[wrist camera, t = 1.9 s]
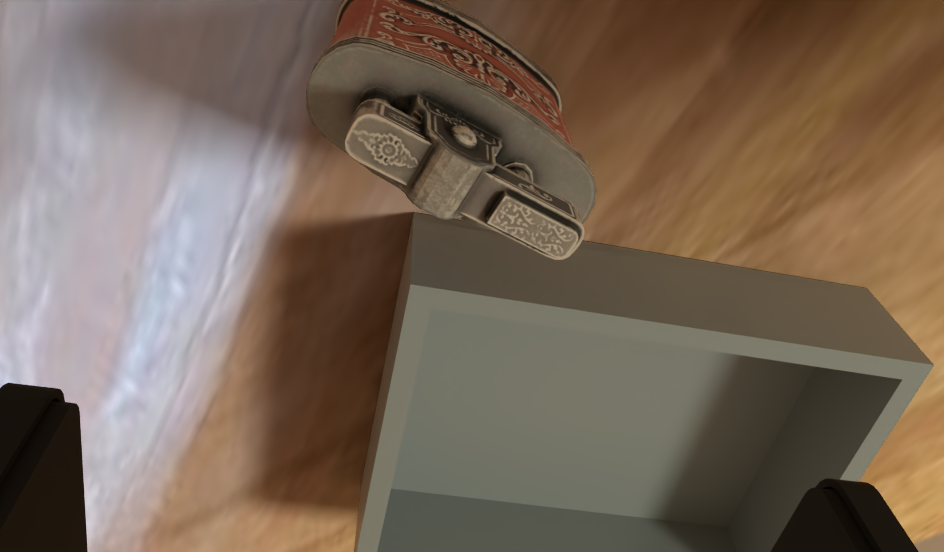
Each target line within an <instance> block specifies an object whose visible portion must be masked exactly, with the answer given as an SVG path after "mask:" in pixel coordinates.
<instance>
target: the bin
mask: <svg viewBox="0 0 944 552" xmlns="http://www.w3.org/2000/svg"><path fill="white" fill-rule="evenodd" d="M933 366H934V364H933V363H932V362H931V361H930V360H929V359H928V358H927V356H926V355H925V354H924V353H923V352H922V351H921V350H920V348H919V347H918V346H917V345H916V344H915V343H914V342H913V340H912V339H911V338H910V337H909V336H908V335H907V333H906V332H905V331H904V330H903V329H902V328H901V327H900V325H899V324H898V323H897V322H896V321H895V320H894V319H893V317H892V316H891V315H890V314H889V313H888V312H887V311H886V309H885V308H884V307H883V306H882V305H881V304H880V302H879V301H878V300H877V299H876V298H875V297H874V296H873V294H872V293H871V292H870V291H869V290H868V289H867V288H862V287H856V286H850V285H844V284H838V283H832V282H826V281H820V280H814V279H808V278H802V277H796V276H790V275H785V274H779V273H773V272H767V271H761V270H755V269H749V268H743V267H737V266H731V265H725V264H719V263H713V262H707V261H701V260H695V259H689V258H683V257H677V256H671V255H665V254H659V253H653V252H647V251H642V250H636V249H630V248H624V247H618V246H612V245H606V244H600V243H594V242H588V241H582V242H581V243H580V245H579V246H578V248H577V249H576V250H575V251H574V252H573V253H572V254H571V255H570V256H569V257H567V258H565V259H563V260H555V259H552V258H549V257H546V256H544V255H542V254H540V253H538V252H536V251H534V250H532V249H530V248H528V247H527V246H525V245H523V244H521V243H519V242H517V241H515V240H513V239H511V238H509V237H507V236H505V235H503V234H501V233H499V232H497V231H493V230H490V229H486V228H483V227H480V226H477V225H475V224H472V223H470V222H468V221H463V220H457V219H448V220H446V219H441V218H438V217H436V216H433V215H427V214H421V213H415V212H414V213H413V219H412V224H411V229H410V234H409V239H408V245H407V250H406V255H405V260H404V265H403V270H402V276H401V281H400V286H399V291H398V296H397V302H396V307H395V312H394V317H393V322H392V327H391V333H390V338H389V343H388V348H387V353H386V359H385V364H384V369H383V374H382V379H381V384H380V390H379V395H378V400H377V405H376V410H375V416H374V421H373V426H372V431H371V436H370V441H369V447H368V452H367V457H366V462H365V467H364V473H363V478H362V483H361V488H360V498H359V508H358V518H357V527H356V537H355V547H354V552H771V550H772V548H773V547H774V545H775V543H776V542H777V540H778V538H779V537H780V535H781V533H782V531H783V530H784V528H785V526H786V525H787V523H788V521H789V520H790V518H791V516H792V515H793V513H794V511H795V510H796V508H797V506H798V505H799V503H800V501H801V500H802V498H803V496H804V494H805V493H806V492H807V491H808V490H809V489H811V488H815V487H816V486H817V485H818V483H819V482H820V481H822V480H824V479H826V478H827V479H839V480H848V481H856V482H859V480H860V479H861V477H862V476H863V474H864V472H865V471H866V469H867V468H868V466H869V465H870V463H871V462H872V460H873V459H874V457H875V455H876V454H877V452H878V451H879V449H880V448H881V446H882V445H883V443H884V442H885V440H886V439H887V437H888V435H889V434H890V432H891V431H892V429H893V428H894V426H895V425H896V423H897V422H898V420H899V418H900V417H901V415H902V414H903V412H904V411H905V409H906V408H907V406H908V405H909V403H910V402H911V400H912V398H913V397H914V395H915V394H916V392H917V391H918V389H919V388H920V386H921V385H922V383H923V382H924V380H925V378H926V377H927V375H928V374H929V372H930V371H931V369H932V368H933Z"/></svg>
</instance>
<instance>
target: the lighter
mask: <svg viewBox="0 0 944 552" xmlns="http://www.w3.org/2000/svg"><path fill="white" fill-rule="evenodd" d="M306 100H307V110H308V113H309V115H310V118H311V120H312V123H313V125H314V126H315V127H316V128H317V129H318V130H319V131H320V133H321V134H322V135H323V136H324V137H326V138H327V139H328V140H330V141H331V142H332V143H334V144H335V145H336V146H338V147H339V148H340V149H342V150H343V151H344V152H346V153H347V154H348V155H350V156H351V157H352V158H354V159H355V160H356V161H358V162H359V163H360V164H362V165H363V166H364V167H366V168H367V169H368V170H370V171H371V172H372V173H374V174H376V175H377V176H379V177H381V178H383V179H384V180H386V181H388V182H389V183H391V184H393V185H394V186H396V187H398V188H400V189H401V190H402V191H403V192H404V193H405V194H406V196H407V197H408V199H409V200H410V201H411V202H412V203H413V204H415V205H416V206H417V207H419V208H420V209H422V210H424V211H426V212H428V213H430V214H432V215H434V216H436V217H438V218H441V219H446V220H448V219H452V218H461V219H463V220H465V221H468V222H470V223H472V224H475V225H477V226H480V227H483V228H486V229H490V230H493V231H497V232H499V233H501V234H503V235H505V236H507V237H509V238H511V239H513V240H515V241H517V242H519V243H521V244H523V245H525V246H527V247H528V248H530V249H532V250H534V251H536V252H538V253H540V254H542V255H544V256H546V257H549V258H552V259H555V260H563V259H565V258H567V257H569V256H570V255H571V254H572V253H573V252H574V251H575V250H576V249H577V248H578V246H579V245H580V243H581V242H582V240H583V238H584V231H585V230H584V227H583V223H584V222H585V221H586V220H587V218H588V216H589V215H590V213H591V211H592V209H593V207H594V204H595V198H596V192H597V190H596V185H595V181H594V176H593V174H592V172H591V169H590V167H589V165H588V163H587V162H586V161H585V159H584V158H583V156H582V155H581V154H580V153H579V152H577V151H576V150H575V148H574V146H573V143H572V141H571V138H570V136H569V133H568V131H567V128H566V126H565V123H564V120H563V118H562V115H561V108H562V104H561V99H560V95H559V92H558V89H557V87H556V85H555V83H554V82H553V81H552V79H551V78H550V76H548V75H547V74H546V73H545V72H544V71H543V70H542V69H541V68H540V67H538V66H537V65H536V64H535V63H534V62H533V61H532V60H531V59H530V58H529V57H527V56H526V55H525V54H524V53H523V52H522V51H521V50H520V49H519V48H517V47H516V46H515V45H513V44H512V43H510V42H509V41H508V40H506V39H505V38H503V37H502V36H500V35H499V34H497V33H496V32H495V31H493V30H492V29H490V28H489V27H487V26H486V25H485V24H483V23H482V22H480V21H479V20H477V19H475V18H473V17H471V16H469V15H467V14H465V13H463V12H461V11H459V10H457V9H455V8H453V7H451V6H449V5H447V4H446V3H444V2H442V1H440V0H343V1H342V3H341V6H340V8H339V11H338V14H337V18H336V21H335V36H334V39H333V41H332V44H331V46H330V47H329V48H328V49H327V50H325V52H324V53H323V55H322V56H321V57H320V59H319V60H318V62H317V63H316V64H315V66H314V69H313V71H312V74H311V77H310V80H309V83H308V87H307V90H306Z"/></svg>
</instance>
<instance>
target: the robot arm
mask: <svg viewBox="0 0 944 552" xmlns="http://www.w3.org/2000/svg"><path fill="white" fill-rule="evenodd" d="M0 552H87V535H86V518H85V500H84V482H83V465H82V447H81V429H80V412H79V407H78V405H77V404H75V403H67V402H65V400H64V394H63V392H62V391H61V390H60V389H56V388H48V387H39V386H30V385H22V384H13V383H7V384H5V385H3V386H2V387H1V388H0ZM771 552H918V550H917V549H916V547H915V546H914V544H913V543H912V541H911V540H910V538H909V537H908V535H907V534H906V532H905V531H904V529H903V528H902V526H901V525H900V523H899V522H898V520H897V519H896V517H895V516H894V514H893V513H892V511H891V509H890V508H889V506H888V505H887V503H886V502H885V500H884V499H883V497H882V496H881V494H880V493H879V492H878V491H877V489H876V488H875V487H874V486H872V485H870V484H869V483H865V482H856V481H848V480H839V479H827V478H826V479H824V480H822V481H820V482H819V483H818V485H817V486H816V487H815V488H811V489H809V490H808V491H807V492H806V493H805V494H804V496H803V498H802V500H801V501H800V503H799V505H798V506H797V508H796V510H795V511H794V513H793V515H792V516H791V518H790V520H789V521H788V523H787V525H786V526H785V528H784V530H783V531H782V533H781V535H780V537H779V538H778V540H777V542H776V543H775V545H774V547H773V548H772V550H771Z"/></svg>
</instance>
